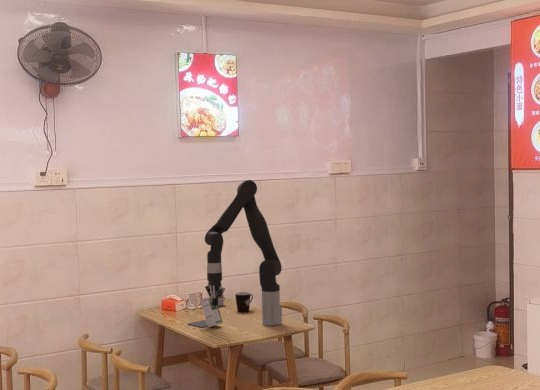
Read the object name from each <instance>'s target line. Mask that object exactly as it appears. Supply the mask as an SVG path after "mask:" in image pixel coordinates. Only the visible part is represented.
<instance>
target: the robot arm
mask: <svg viewBox="0 0 540 390" xmlns="http://www.w3.org/2000/svg"><path fill="white" fill-rule="evenodd" d="M257 191H258V185H257V184H256V182H255V181H254V180H251V179H246V180H243V181H242V182H241V183H239V185H238V186H237V189H236V193H237V194H236V195H235V196H234V198H233V199H232V201H231V202H230V204H229V205H228V207H227V208H226V209H225V210H224V212H223V213H222V214H221V216H220V217H219V218H218V220H217V221H216V223H215V224H214V225H212V226H211V228H209V230H207V232H206V233H205V235H204V242H205V244H207V246H210V250H208V252H207V253H206V254H207V255H206V258H207V260H206V262H207V263H206V264H207V265H206V280H207V286H205V287H204V288H205V291H206V292H207V295H208V297H212V304H213V306H217V305H218V298H219V297H221V296H222V294H224V292H225V291H226V289H225V288H224V287H223V286H222V285H223V284H222V281H223V265H222V251H223V247H224V236H223V233H226V232H228V231H229V229H230V228H231V226H232V225H233V224H234V222H235V220H236V219H237V217H238V216H239V214H240V212H241V211H242V210H244V213H245V218H246V221H247V224H248V228H249V231H250V235H251V238H252V240H253V241H254V242H255V244H256V245H257V247H258V248H259V249H260V251H261V252H262V256H263V259H264V260H263V261H261V263H260V265H259V267H258V271H259V273H258V275H259V276H258V277H259V284H260V287H261V314H262V316H261V317H262V321H261V322H262V325H263V326H269V327H270V326H271V327H275V326H278V325H282V323H283V316H282V314H283V313H282V312H283V311H282V310H283V309H282V305H281V296H280V295H281V294H280V293H281V289H280V287H281V285H280V284H278V283H277V277H278V275H280V274H281V273H282V269H283V267H282V263H281V260H280V258H279V255H278V254H277V251H276V249H275V246H274V243H273V240H272V236H271V234H270V230H269V227H268V224H267V223H268V222H267V221H266V218H265V217H264V215H263V214H262V211H260V209H259V207H258V205H257V204H258V203H257V201H256V197H255V195H256V194H257ZM216 294H217V295H216Z"/></svg>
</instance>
